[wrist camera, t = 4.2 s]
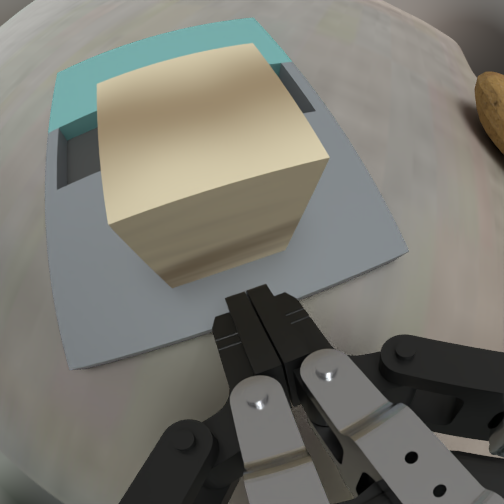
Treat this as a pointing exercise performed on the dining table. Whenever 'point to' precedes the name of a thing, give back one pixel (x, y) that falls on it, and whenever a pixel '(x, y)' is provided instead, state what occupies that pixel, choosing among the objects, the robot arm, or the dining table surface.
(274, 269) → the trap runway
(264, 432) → the robot arm
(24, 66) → the dining table surface
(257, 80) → the maple block
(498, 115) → the potato
